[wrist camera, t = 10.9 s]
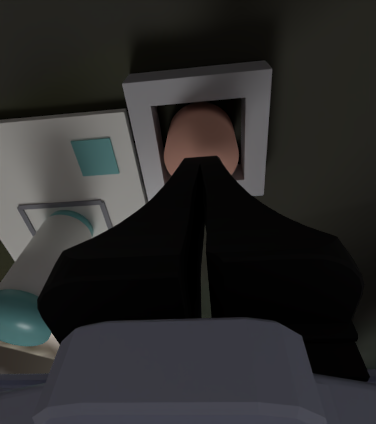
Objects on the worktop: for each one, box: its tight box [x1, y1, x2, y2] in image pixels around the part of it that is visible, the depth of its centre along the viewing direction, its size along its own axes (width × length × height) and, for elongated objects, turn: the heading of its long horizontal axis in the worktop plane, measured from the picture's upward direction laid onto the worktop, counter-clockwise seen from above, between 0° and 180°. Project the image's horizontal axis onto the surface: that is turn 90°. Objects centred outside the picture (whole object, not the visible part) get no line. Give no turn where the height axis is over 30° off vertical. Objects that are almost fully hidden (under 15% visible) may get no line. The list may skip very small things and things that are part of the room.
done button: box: [164, 102, 239, 176], centre depth 14 cm, size 3×3×2 cm
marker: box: [0, 210, 93, 346], centre depth 16 cm, size 3×3×7 cm
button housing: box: [122, 60, 272, 202], centre depth 14 cm, size 6×6×2 cm
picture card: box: [0, 108, 147, 262], centre depth 19 cm, size 16×10×1 cm, turn 6°
